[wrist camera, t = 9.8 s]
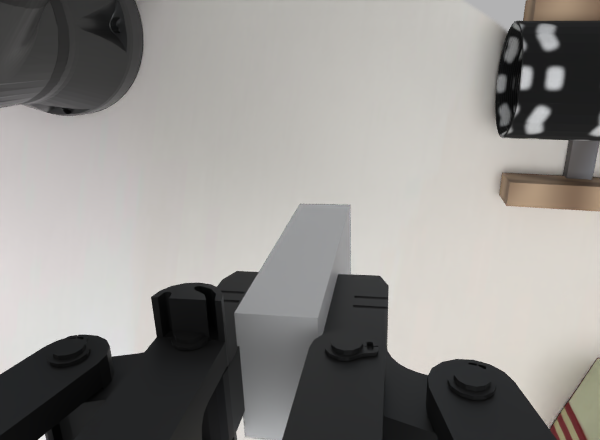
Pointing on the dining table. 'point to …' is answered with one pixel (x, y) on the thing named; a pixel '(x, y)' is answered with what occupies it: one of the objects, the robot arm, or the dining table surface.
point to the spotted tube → (550, 81)
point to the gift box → (581, 410)
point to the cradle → (581, 154)
